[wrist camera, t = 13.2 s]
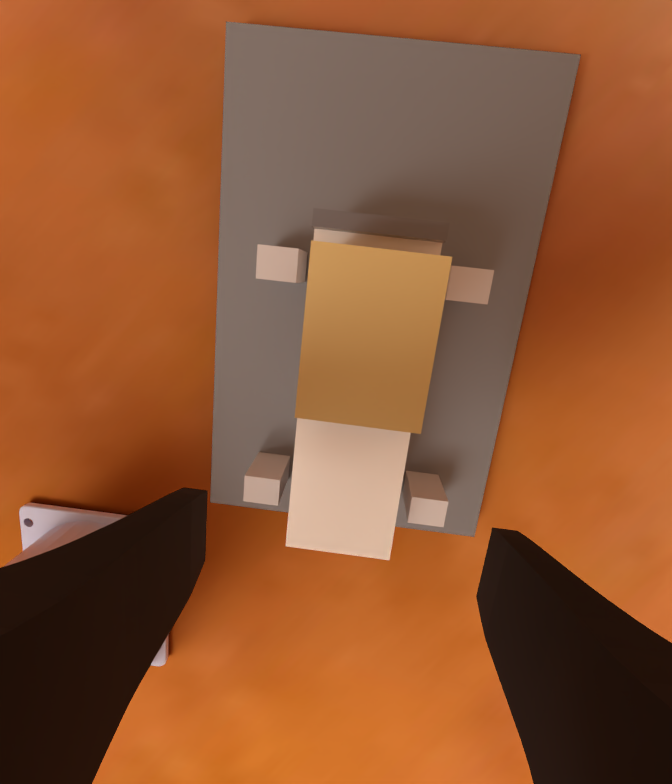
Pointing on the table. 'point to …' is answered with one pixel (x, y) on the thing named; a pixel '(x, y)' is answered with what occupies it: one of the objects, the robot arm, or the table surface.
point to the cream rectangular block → (353, 427)
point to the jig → (387, 198)
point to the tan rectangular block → (370, 335)
